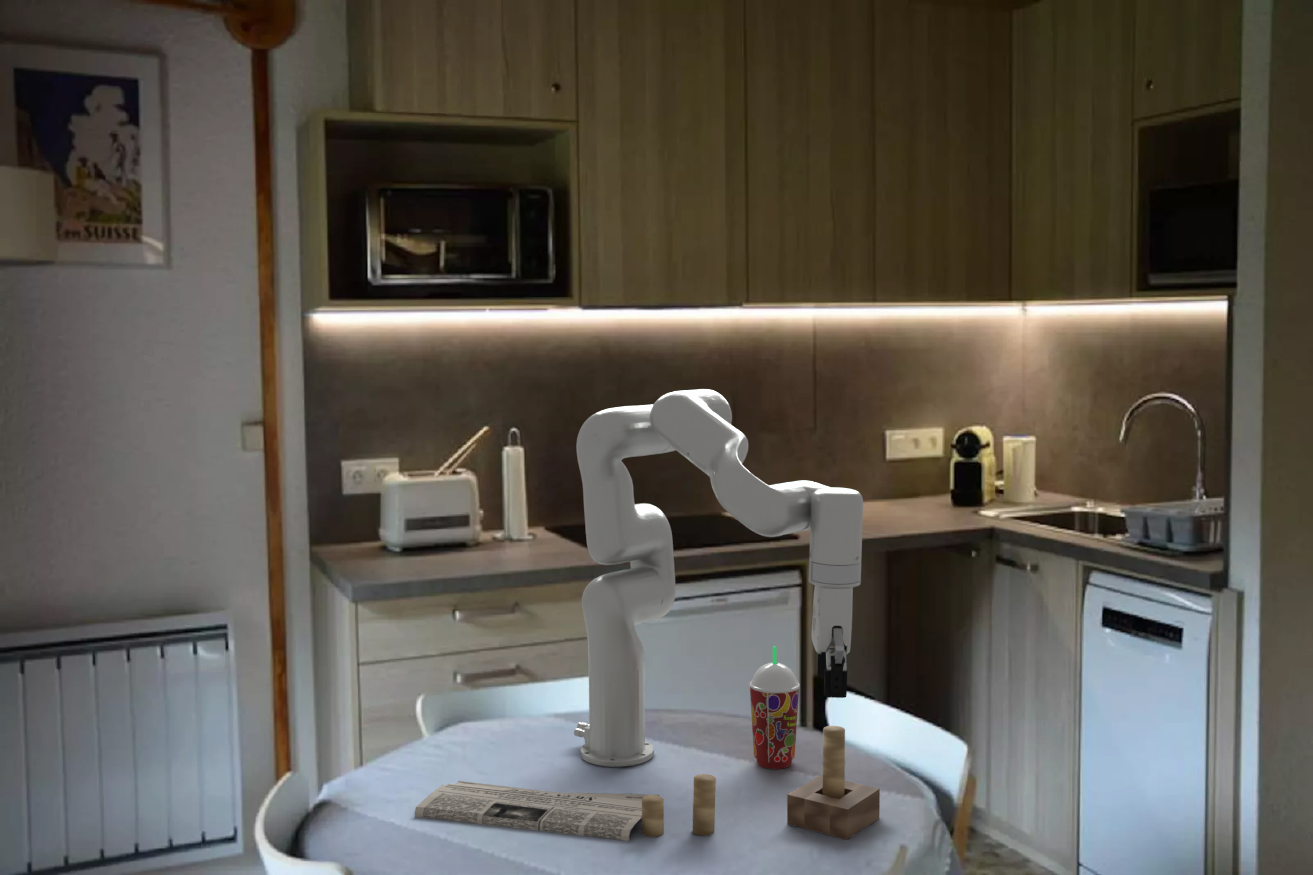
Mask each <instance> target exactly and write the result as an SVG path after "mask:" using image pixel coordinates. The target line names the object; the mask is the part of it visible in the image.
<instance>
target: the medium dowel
mask: <svg viewBox="0 0 1313 875" xmlns="http://www.w3.org/2000/svg"><path fill="white" fill-rule="evenodd" d="M716 784H717V778H716V777H715V776H714V775H712V774H706V773H701V774H697V775H695V776H693V796H692V797H693V798H692V799H693V802H692V833H693V834H695V835H696V836H697V835H698V836H701V837H702V836H703V837H706V835H708V836H711V835H710V834H712V835H713V834H714V833H715V829H716V828H715V825H716V793H717V792H716V791H717V790H716V789H717V788H716V787H717V786H716Z"/></svg>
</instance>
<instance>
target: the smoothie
mask: <svg viewBox="0 0 1313 875" xmlns="http://www.w3.org/2000/svg"><path fill="white" fill-rule="evenodd" d="M800 685H801V684H800V682H799V681H798V679H797V676H796V675H795V674H794V672H793V670H792V669H791V668H790V667H789V666H787V665H786V664H784V663H781V662H777V646H775V645H773V646H772V662H767V663H765V664H763V665H761V666H759V668H758V669H756V671H755V672H754V675H753V677H752V679H751V681H749V694H750V695H749V698H750V710H751V712H750V713H751V729H752V731H751V732H752V745H753V746H752V747H753V757H754V758H755V759H756V763H757V765H758V766H760V767H762V768H764V769H768V768H769V770H781V769H786V768H788V767H790V766H791V765H792V760H794V759H795V757H796V741H797V726H798V713H799V712H798V711H799V710H798V709H799V698H800V697H799V696H800V695H799V694H800V687H801V686H800Z"/></svg>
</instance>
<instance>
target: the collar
mask: <svg viewBox="0 0 1313 875" xmlns="http://www.w3.org/2000/svg"><path fill="white" fill-rule="evenodd" d="M880 790H881V789H880V788H879V787H874V786H869V785H865V784H861V783H858V782H857V783H856V782H851V781H848V780H845V786H844V796H843V797H842V798H840V799H838V798H834V797H830V796H825V795H823V774H820V775H818V776H817V777H814V778H813V779H811V780H810V781H808V782H806V783H804V784H803V785H801V786H800V787H798V788H795V789H794V790H793V791H791V792H789V793H787V795H786V796H787V797H786V798H787V799H786V804H787V805H786V809H787V811H786V812H787V814H786V818H787V819H786V822H787V823H786V824H787V825H789V824H790V826H793V825H795V826H794V827H797V826H799V827H798V828H801V829H805V830H809V831H812V832H817V833H820V834H824V835H828V836H832V837H835V838H839V839H841V840H842V839H843V840H847V841H848V840H849V839H851V838H852V837H854V836H855V835H857V834H859V833H860V832H861V831H862V830H864V829H865V828H867V827H868V826H870V825H871V824H873V823H874V822H876V821H877V820H878V819H880V807H881V806H880V802H881V801H880V797H881V794H880V793H881V791H880Z"/></svg>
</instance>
